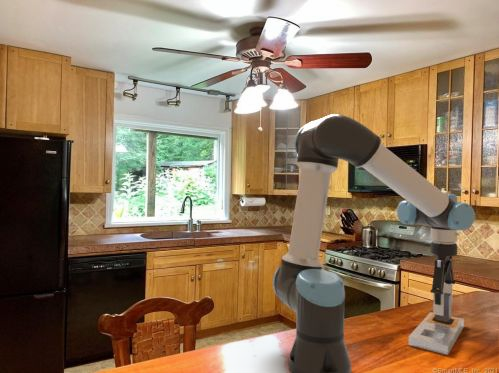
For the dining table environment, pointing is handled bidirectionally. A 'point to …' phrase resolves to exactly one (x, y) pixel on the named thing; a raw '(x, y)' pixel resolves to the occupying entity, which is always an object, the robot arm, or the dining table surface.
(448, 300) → the steel peg
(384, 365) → the dining table surface
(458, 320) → the grey peg hole board
